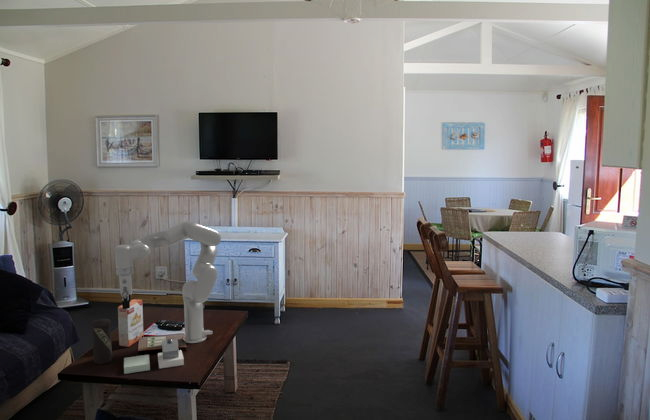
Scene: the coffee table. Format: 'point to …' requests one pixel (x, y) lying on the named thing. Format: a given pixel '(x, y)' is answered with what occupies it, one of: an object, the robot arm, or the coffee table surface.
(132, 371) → the stand
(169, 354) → the housing
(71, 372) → the coffee table surface
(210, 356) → the coffee table surface
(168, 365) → the stand
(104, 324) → the container
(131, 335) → the cracker box
